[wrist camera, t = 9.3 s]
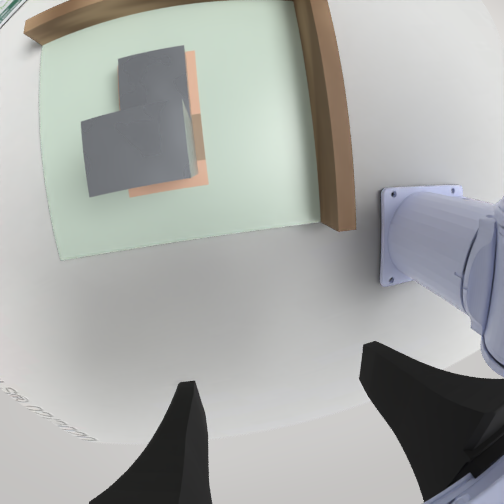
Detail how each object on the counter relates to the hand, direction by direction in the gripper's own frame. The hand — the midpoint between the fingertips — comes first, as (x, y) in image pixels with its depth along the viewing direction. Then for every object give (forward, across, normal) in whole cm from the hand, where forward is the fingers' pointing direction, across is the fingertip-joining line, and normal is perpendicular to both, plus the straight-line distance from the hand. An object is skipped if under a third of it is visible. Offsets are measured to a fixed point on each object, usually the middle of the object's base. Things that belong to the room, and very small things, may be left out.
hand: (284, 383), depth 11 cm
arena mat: (+10, +3, -13) cm, 17 cm away
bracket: (+10, +4, -12) cm, 16 cm away
